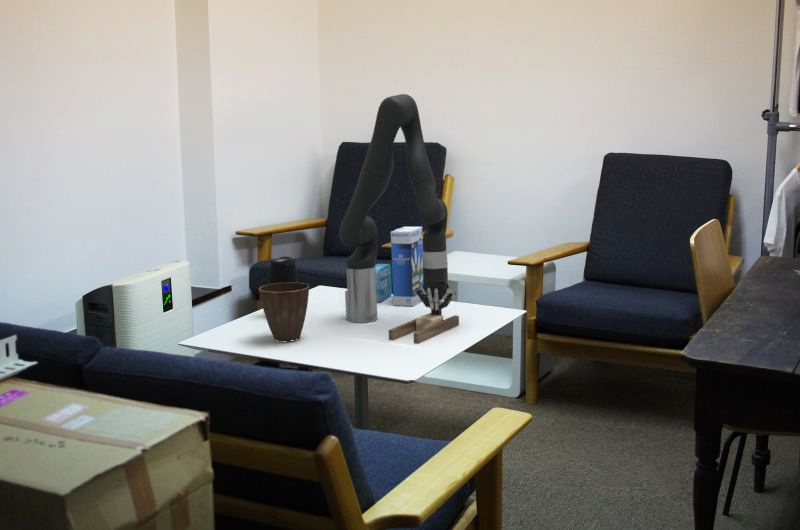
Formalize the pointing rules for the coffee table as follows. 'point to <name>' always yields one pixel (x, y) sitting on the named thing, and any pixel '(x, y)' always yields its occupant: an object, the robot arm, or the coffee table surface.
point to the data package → (383, 282)
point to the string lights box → (407, 265)
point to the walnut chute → (425, 332)
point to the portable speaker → (282, 270)
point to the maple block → (427, 321)
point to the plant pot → (285, 308)
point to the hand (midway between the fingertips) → (436, 321)
